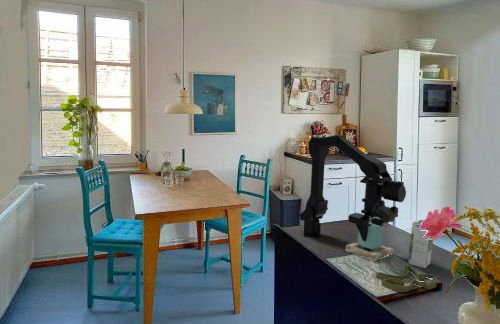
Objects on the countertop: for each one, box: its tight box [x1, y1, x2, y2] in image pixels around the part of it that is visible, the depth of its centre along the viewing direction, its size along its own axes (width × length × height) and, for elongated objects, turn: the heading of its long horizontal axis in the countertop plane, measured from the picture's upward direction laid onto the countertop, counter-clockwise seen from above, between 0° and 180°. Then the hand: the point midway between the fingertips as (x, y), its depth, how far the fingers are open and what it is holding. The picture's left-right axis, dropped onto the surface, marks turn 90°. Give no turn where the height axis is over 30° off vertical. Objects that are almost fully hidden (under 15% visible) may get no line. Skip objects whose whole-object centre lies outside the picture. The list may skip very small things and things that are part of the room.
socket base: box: [344, 241, 395, 262], centre depth 135 cm, size 13×13×2 cm
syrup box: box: [407, 218, 434, 269], centre depth 124 cm, size 6×6×14 cm
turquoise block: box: [357, 222, 385, 250], centre depth 133 cm, size 6×6×7 cm
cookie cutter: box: [375, 265, 438, 293], centre depth 111 cm, size 18×12×2 cm, turn 116°
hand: (369, 239), depth 134 cm, fingers closed on turquoise block, 6 cm apart
